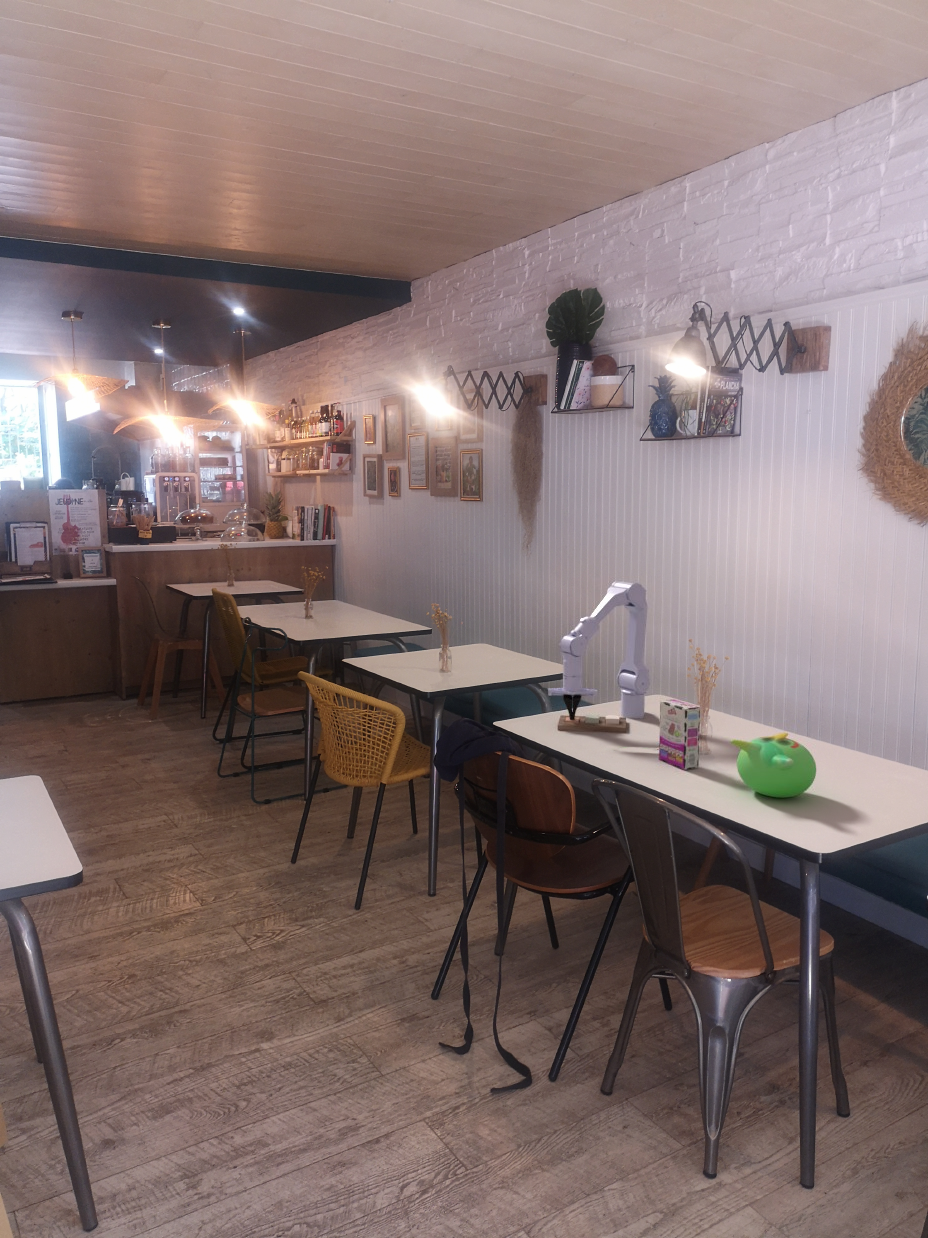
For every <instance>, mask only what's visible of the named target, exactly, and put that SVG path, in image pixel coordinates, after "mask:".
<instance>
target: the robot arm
mask: <svg viewBox="0 0 928 1238" xmlns="http://www.w3.org/2000/svg"><path fill="white" fill-rule="evenodd" d="M646 595H647V590H646V588H645V586H643V585H642V584H641V583H639V582H626V581H622V580H616V581H614V582H613V583H612V584H611V586H610V587H608V589H607V591H606V595H605V596H604V598H603V599H602V601H600V603H599V604H598V606H597V607H596V608H595V609H594V611H593V612H592V613H591V615H590V616H585V617H583V618H582V617H581V618H580V619H579V622H578V624H577V625H576V626H575V628H573V630H571V631H570V633H569V634H567V635H564V636H563V637H562V639H561V640H560V643H559V644H558V647H559V648H558V649H559V650H560V652H561V657H562V687H552V688H551V687H548V688H547V693H548V694H547V695H548V696H550V697H551V696H559V697H560V696H561V697H562V700H563V702H564V704H565V706H566V709H567V712H568V716H569V717H570V720H575V716H576V713H577V709H578V707H579V704H580V702H581V700H582V697H592V698H597V697H598V690H597V689H593V688H592V689H591V688H585V687H584V688H583V655H584V654H585V653H586V651H587V648H588V645H589V642H590V641H591V639H592V638H593V637H594V636H595V635H596V634H597V633H598V632H599V630H600V624H601V622H603V620H604V619H606V617H607V616H609V614H611V612H612V611H613V610H614V609H615V608H616V607H621V606H623V607H624V608H625V609H626V610H627V611H628V622H627V633H626V635H627V636H626V647H625V648H626V649H625V661H624V662H622V663H621V664H620V666H619V669H618V670H619V671H618V674H617V675H616V684H617V686H618V687H619V688H620V690H619V691H620V692H621V695H620V696H621V700H620V701H621V703H620V715H621V716H620V717H626V719H642V718H644V717H645V706H646V703H645V698H646V697H645V694H647V691H648V690H649V689H650V685H651V679H650V676H649V669H648V667H647V666H646V664H645V663H644V656H645V645H646V644H645V642H646V632H647V631H646V630H647V617H648V603H647V600H646V599H647V598H646V597H647V596H646Z"/></svg>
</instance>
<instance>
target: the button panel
mask: <svg viewBox="0 0 928 1238" xmlns="http://www.w3.org/2000/svg"><path fill="white" fill-rule="evenodd" d="M566 717H569V715H564V714H563V715H562V714H560V717H559V720H558V722H557V731H566V732H567V731H569V732H570V731H571V732H592V733H593V732H597V733H620V734H621V733H624V734H625V733H627V718H626V717H623V716H619V724H606V716H599V723H585V717H586V715H575V718H579V723H572V722H565V720H566Z"/></svg>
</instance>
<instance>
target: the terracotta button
mask: <svg viewBox="0 0 928 1238" xmlns="http://www.w3.org/2000/svg"><path fill="white" fill-rule="evenodd" d="M565 722H572V723H579V718H575V720H570V717H566V720H565Z"/></svg>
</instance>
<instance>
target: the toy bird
mask: <svg viewBox="0 0 928 1238" xmlns="http://www.w3.org/2000/svg"><path fill="white" fill-rule="evenodd" d="M788 735H789V733H788V732H782V733H777V734H774V735H770V736H768V735H767V736H762V737H758V738H757V737H756V738H754V739H752V740H750V741H746V740H741V739H731V740H730V743H731V744H732V745H733V746H735V747H737V748H739V749H740V751H739V753H738V756H737V759H736V768H737V773H738V774H739V777H740V778H741V780H742V781H743V782H744V784H745V785H746V786H747V787H749V788H750V789H752V791H755V792H757V793H758V794H761V795H764V796H768V797H772V798H791V797H796V796H798V795H801V794H803V793H804V792H806V791H807V790H809V788H810V787H811V786H812V785H813V784H814V782H815V779H816V775H817V765H816V761H815V758H814V756H813V754H812V753H811V752H810V750H808V748H807V747H805V746H804V745H803V744H801V743H799V742H797V741H796V740H793V739H790V738H787V737H788Z"/></svg>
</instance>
